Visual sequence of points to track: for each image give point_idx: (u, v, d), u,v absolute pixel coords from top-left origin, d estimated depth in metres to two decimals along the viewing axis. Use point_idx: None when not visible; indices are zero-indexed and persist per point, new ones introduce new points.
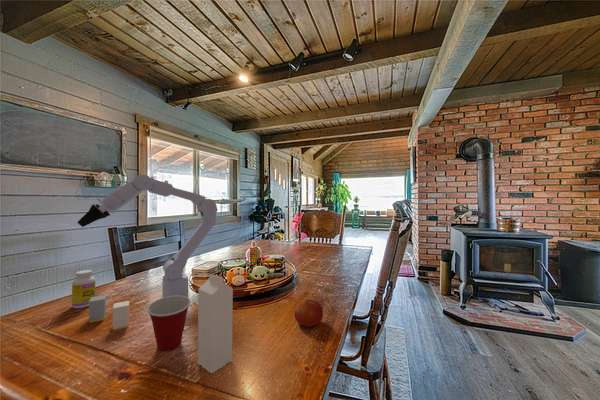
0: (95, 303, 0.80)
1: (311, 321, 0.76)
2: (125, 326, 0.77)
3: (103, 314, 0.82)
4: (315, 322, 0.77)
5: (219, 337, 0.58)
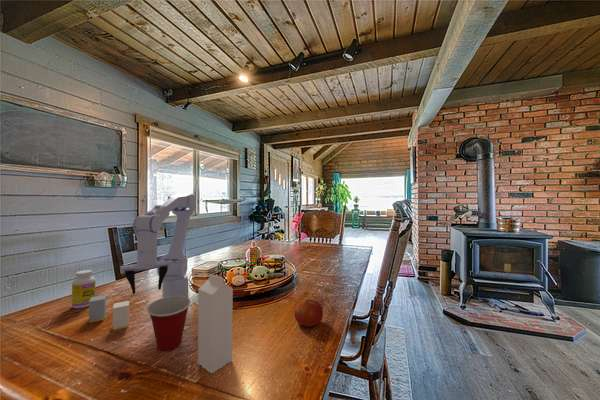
0: (95, 303, 0.80)
1: (311, 321, 0.76)
2: (125, 326, 0.77)
3: (103, 314, 0.82)
4: (315, 322, 0.77)
5: (219, 337, 0.58)
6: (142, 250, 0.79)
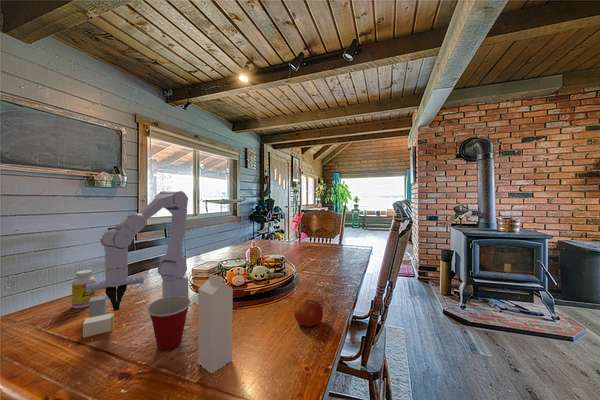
0: (95, 303, 0.80)
1: (311, 321, 0.76)
2: (111, 320, 0.75)
3: (103, 314, 0.82)
4: (315, 322, 0.77)
5: (219, 337, 0.58)
6: (107, 267, 0.74)
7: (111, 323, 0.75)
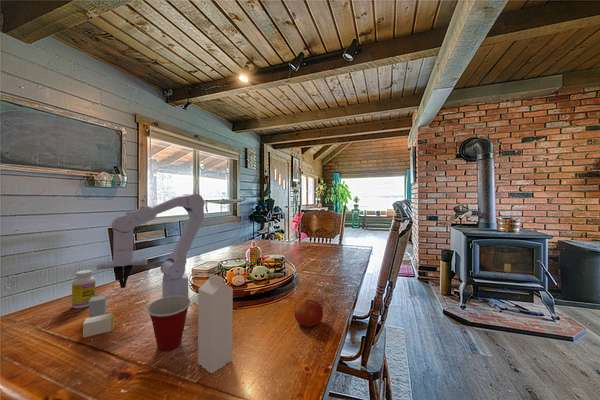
0: (95, 303, 0.80)
1: (311, 321, 0.76)
2: (111, 320, 0.75)
3: (103, 314, 0.82)
4: (315, 322, 0.77)
5: (219, 337, 0.58)
6: (113, 248, 0.84)
7: (111, 323, 0.75)
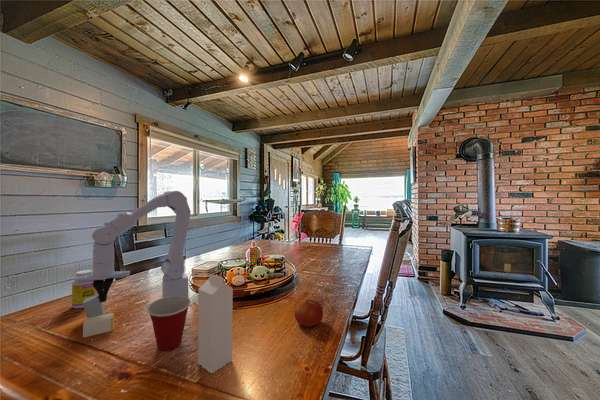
0: (90, 303, 0.80)
1: (311, 321, 0.76)
2: (111, 320, 0.75)
3: (101, 312, 0.81)
4: (315, 322, 0.77)
5: (219, 337, 0.58)
6: (93, 261, 0.81)
7: (111, 323, 0.75)
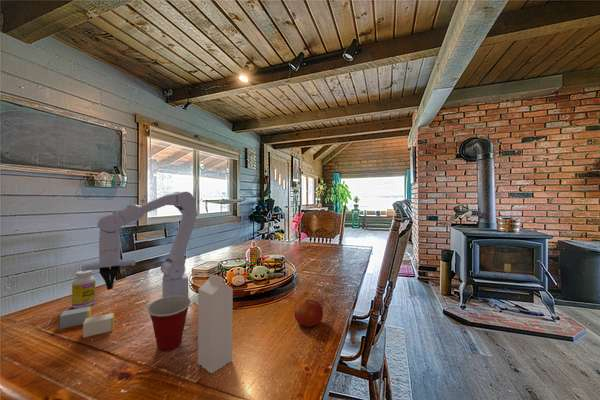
0: (64, 322, 0.76)
1: (311, 321, 0.76)
2: (111, 320, 0.75)
3: (81, 313, 0.79)
4: (315, 322, 0.77)
5: (219, 337, 0.58)
6: (99, 248, 0.81)
7: (111, 323, 0.75)
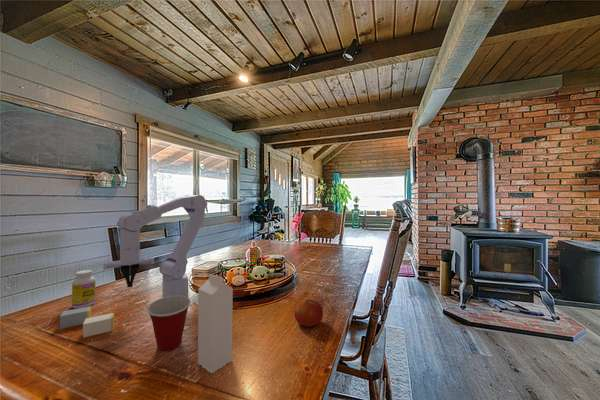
0: (64, 322, 0.76)
1: (311, 321, 0.76)
2: (111, 320, 0.75)
3: (81, 313, 0.79)
4: (315, 322, 0.77)
5: (219, 337, 0.58)
6: (121, 247, 0.83)
7: (111, 323, 0.75)
